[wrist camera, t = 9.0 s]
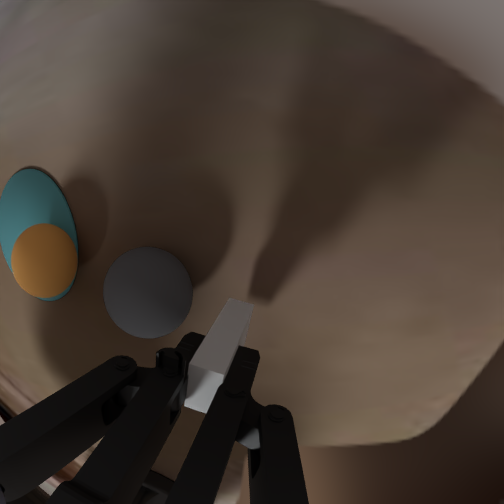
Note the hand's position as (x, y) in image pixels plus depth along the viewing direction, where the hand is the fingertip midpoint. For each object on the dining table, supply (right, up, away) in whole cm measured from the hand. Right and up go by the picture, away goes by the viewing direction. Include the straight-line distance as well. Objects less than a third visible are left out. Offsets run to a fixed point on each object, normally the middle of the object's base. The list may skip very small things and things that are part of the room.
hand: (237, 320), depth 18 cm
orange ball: (-14, +3, +1) cm, 15 cm away
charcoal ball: (-5, +2, 0) cm, 6 cm away
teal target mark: (-18, +5, +4) cm, 20 cm away
